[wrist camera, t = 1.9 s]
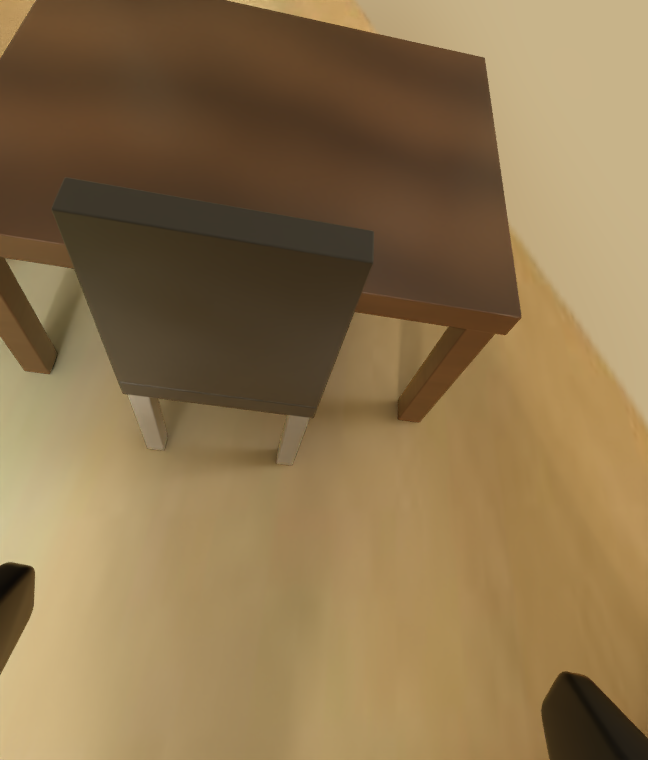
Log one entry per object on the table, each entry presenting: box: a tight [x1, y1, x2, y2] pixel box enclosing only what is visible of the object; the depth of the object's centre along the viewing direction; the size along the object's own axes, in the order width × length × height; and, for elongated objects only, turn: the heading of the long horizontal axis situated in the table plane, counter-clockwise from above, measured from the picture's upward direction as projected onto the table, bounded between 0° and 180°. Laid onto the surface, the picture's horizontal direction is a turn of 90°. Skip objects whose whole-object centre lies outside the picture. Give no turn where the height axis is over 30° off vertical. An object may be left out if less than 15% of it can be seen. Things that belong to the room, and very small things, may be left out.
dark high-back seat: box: [51, 177, 374, 465], centre depth 20 cm, size 7×7×15 cm
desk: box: [0, 0, 521, 422], centre depth 25 cm, size 16×20×10 cm
